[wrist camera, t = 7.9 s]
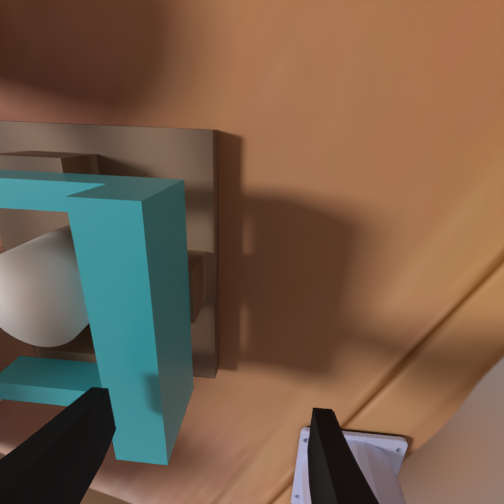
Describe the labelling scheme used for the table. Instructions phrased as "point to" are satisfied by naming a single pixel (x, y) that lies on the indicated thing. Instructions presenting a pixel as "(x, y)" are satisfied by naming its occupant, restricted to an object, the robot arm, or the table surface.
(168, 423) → the teal c-shaped bracket
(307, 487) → the robot arm
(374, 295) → the table surface
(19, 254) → the stand
